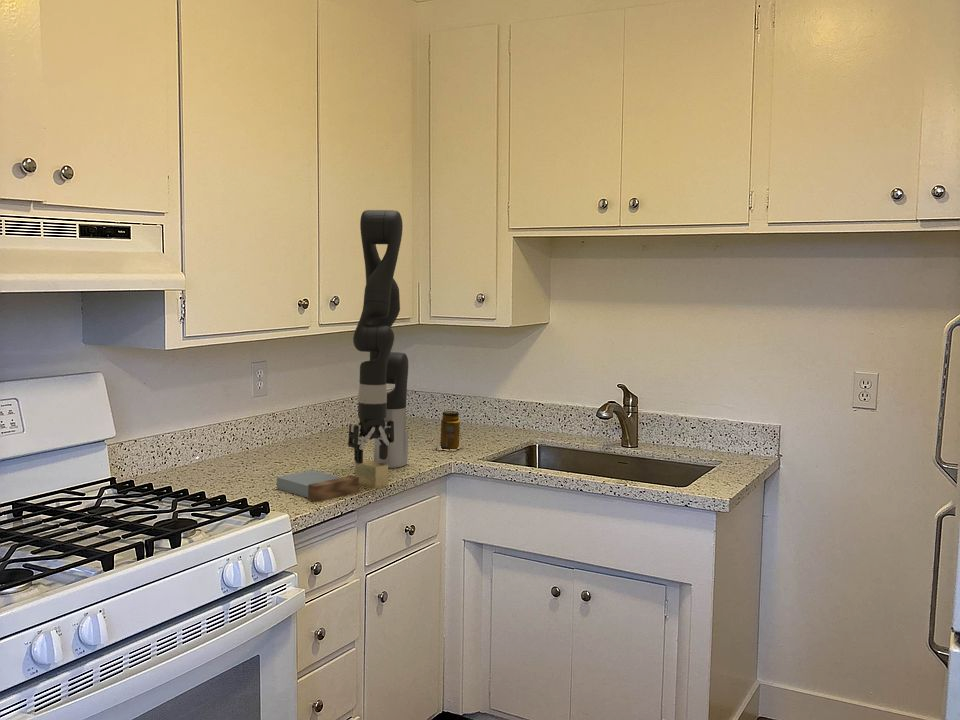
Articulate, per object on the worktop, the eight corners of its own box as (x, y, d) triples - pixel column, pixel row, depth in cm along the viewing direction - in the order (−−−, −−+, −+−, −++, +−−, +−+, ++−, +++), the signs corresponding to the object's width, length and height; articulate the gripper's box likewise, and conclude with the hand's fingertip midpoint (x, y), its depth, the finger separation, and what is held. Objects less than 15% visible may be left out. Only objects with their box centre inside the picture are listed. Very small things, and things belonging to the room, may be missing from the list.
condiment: (463, 447, 292) (464, 411, 291) (454, 452, 284) (455, 415, 283) (442, 445, 294) (443, 409, 293) (432, 450, 286) (433, 413, 285)
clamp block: (367, 481, 244) (367, 459, 243) (387, 486, 239) (388, 464, 238) (354, 484, 241) (355, 462, 240) (375, 489, 235) (375, 467, 235)
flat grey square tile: (313, 480, 241) (313, 469, 241) (348, 490, 232) (348, 479, 232) (276, 488, 232) (276, 477, 232) (311, 498, 223) (311, 487, 223)
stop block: (351, 490, 233) (351, 475, 233) (358, 492, 231) (359, 477, 231) (308, 500, 222) (308, 484, 222) (315, 502, 220) (316, 486, 220)
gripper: (361, 404, 229) (360, 467, 231) (401, 400, 240) (400, 459, 242) (342, 401, 234) (341, 462, 236) (382, 397, 245) (381, 455, 246)
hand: (371, 461), depth 239 cm, fingers open, 8 cm apart
